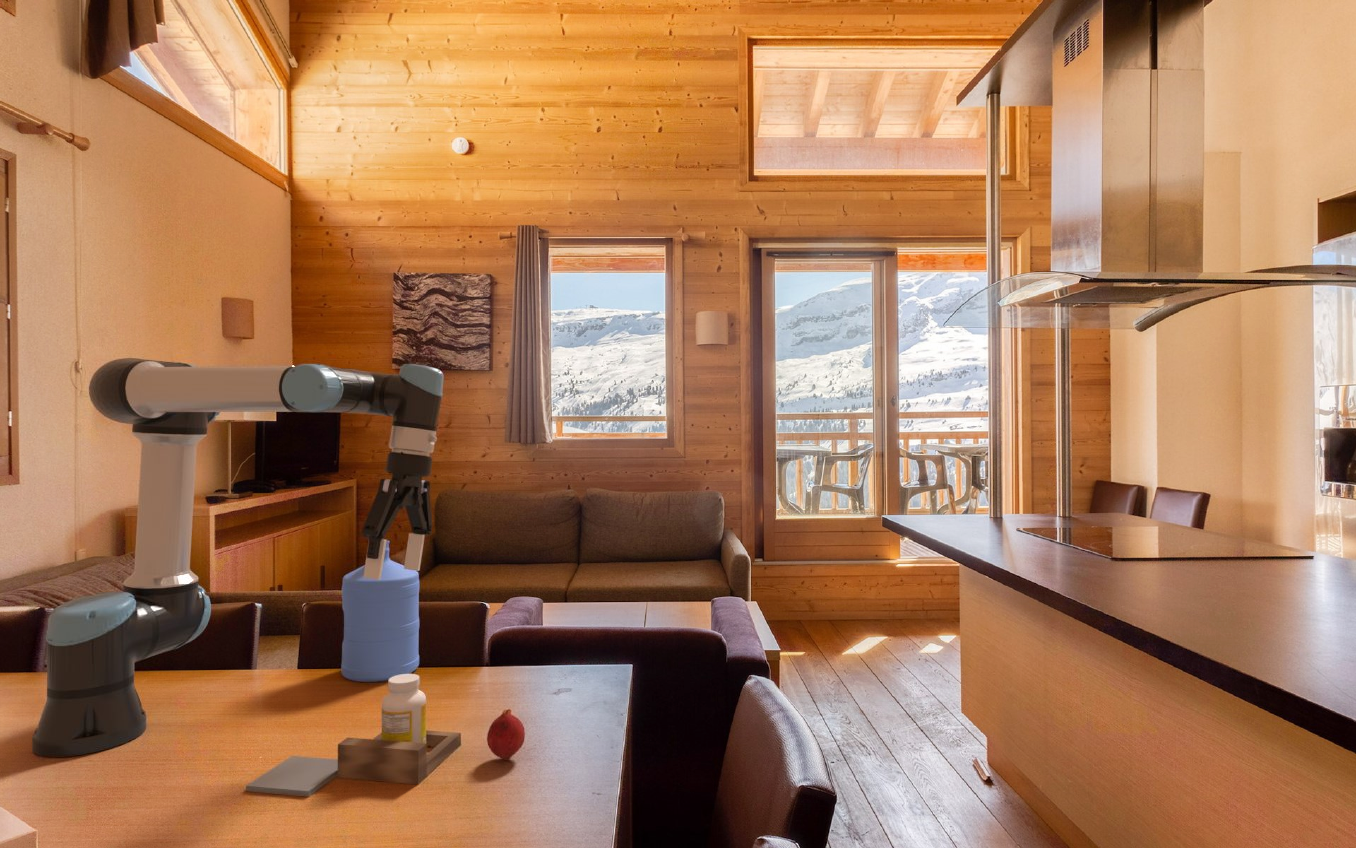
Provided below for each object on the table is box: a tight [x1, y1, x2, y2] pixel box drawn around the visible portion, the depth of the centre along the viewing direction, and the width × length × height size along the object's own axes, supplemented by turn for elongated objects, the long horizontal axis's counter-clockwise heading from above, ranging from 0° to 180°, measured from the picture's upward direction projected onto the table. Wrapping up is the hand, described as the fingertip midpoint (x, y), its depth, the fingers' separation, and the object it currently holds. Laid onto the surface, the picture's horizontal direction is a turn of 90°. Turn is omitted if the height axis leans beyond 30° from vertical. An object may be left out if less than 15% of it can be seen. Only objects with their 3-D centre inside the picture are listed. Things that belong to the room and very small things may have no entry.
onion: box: [486, 707, 526, 761], centre depth 118 cm, size 6×6×8 cm
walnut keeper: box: [337, 729, 462, 786], centre depth 118 cm, size 13×14×5 cm
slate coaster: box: [245, 755, 338, 798], centre depth 112 cm, size 10×10×1 cm
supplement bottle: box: [381, 673, 427, 743], centre depth 119 cm, size 7×7×13 cm
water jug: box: [340, 540, 420, 683], centre depth 162 cm, size 16×16×28 cm
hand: (392, 574), depth 130 cm, fingers open, 13 cm apart
